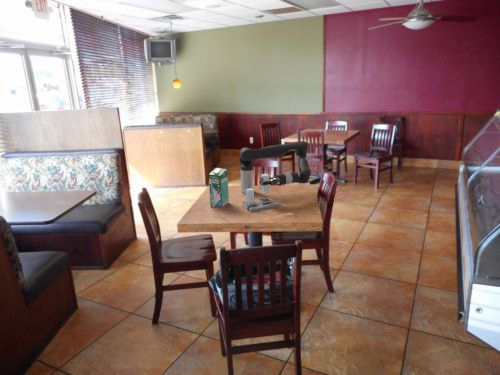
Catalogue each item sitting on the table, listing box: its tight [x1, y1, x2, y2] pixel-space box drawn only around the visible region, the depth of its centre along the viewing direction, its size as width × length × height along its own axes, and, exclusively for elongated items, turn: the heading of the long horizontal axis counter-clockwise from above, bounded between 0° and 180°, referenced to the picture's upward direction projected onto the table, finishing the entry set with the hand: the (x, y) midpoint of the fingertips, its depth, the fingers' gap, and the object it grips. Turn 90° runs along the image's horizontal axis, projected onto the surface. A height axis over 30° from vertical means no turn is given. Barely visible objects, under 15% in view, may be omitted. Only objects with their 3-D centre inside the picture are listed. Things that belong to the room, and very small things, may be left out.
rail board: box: [240, 197, 282, 214], centre depth 233 cm, size 16×22×4 cm
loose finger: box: [259, 173, 270, 195], centre depth 233 cm, size 4×5×12 cm
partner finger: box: [245, 188, 256, 205], centre depth 231 cm, size 4×5×12 cm
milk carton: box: [208, 167, 230, 209], centre depth 237 cm, size 9×9×25 cm
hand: (261, 182), depth 231 cm, fingers closed on loose finger, 4 cm apart
